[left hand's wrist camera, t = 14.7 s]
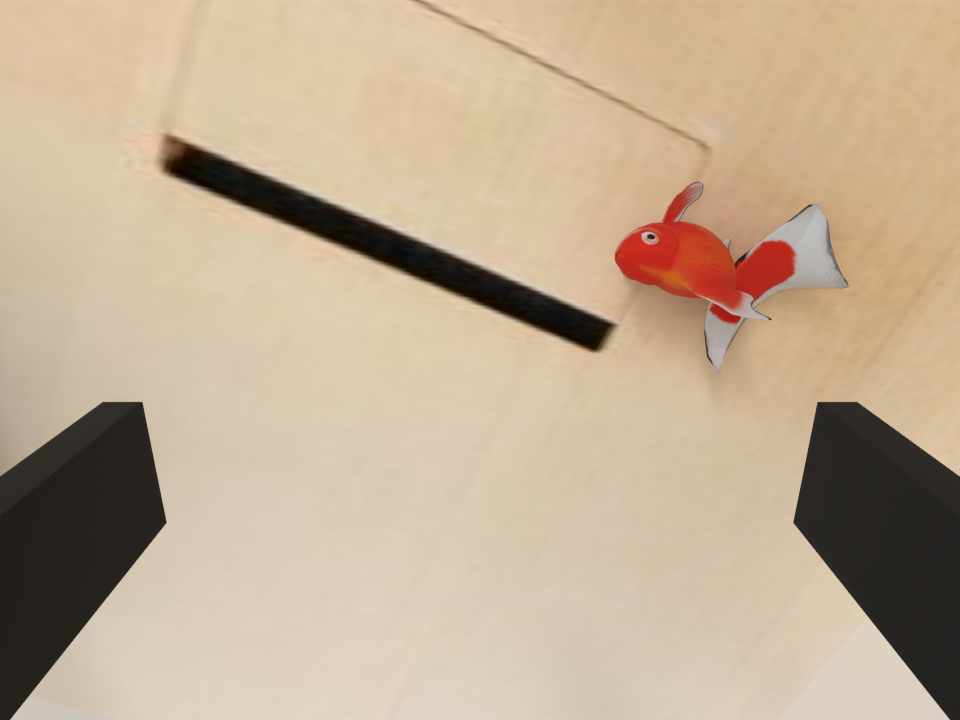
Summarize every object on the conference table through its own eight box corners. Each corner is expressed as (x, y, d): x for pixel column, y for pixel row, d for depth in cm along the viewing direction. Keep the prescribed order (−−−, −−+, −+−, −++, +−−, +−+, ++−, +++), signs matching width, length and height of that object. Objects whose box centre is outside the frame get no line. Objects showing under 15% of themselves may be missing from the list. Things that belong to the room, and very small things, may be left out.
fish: (690, 91, 35) (778, 199, 29) (831, 199, 43) (923, 301, 37) (565, 231, 41) (615, 346, 35) (711, 302, 49) (772, 404, 43)
